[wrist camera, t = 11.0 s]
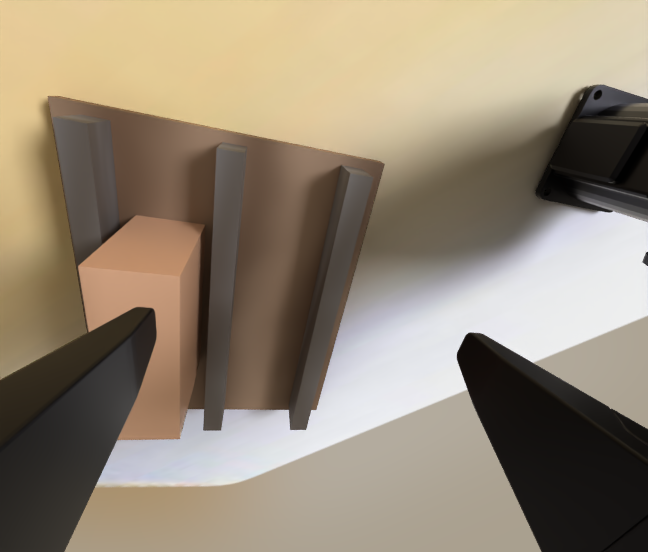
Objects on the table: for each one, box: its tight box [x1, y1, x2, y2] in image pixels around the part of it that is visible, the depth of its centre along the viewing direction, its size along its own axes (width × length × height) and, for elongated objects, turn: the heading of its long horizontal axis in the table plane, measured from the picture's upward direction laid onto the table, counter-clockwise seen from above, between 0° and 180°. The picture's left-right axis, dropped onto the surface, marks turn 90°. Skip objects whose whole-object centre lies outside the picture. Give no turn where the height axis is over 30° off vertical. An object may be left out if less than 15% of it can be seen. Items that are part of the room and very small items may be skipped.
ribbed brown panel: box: [48, 96, 384, 430], centre depth 20 cm, size 16×20×3 cm
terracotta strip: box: [78, 215, 205, 440], centre depth 17 cm, size 4×10×6 cm, turn 168°
